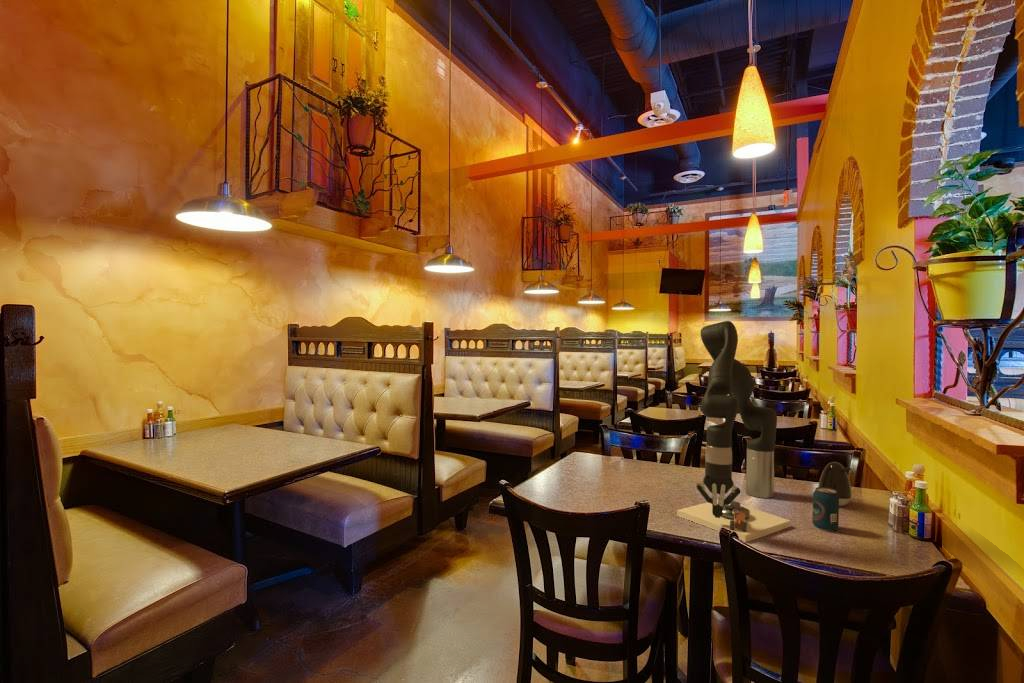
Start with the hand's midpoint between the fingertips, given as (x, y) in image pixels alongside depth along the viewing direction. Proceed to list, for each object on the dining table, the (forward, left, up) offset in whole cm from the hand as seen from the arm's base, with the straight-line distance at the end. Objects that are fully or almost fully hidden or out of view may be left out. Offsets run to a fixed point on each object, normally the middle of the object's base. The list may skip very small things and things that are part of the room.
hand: (717, 516), depth 150 cm
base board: (-11, -3, -4) cm, 13 cm away
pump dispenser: (-60, +5, -5) cm, 61 cm away
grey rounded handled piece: (-9, 0, -2) cm, 9 cm away
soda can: (-32, +16, -5) cm, 36 cm away
